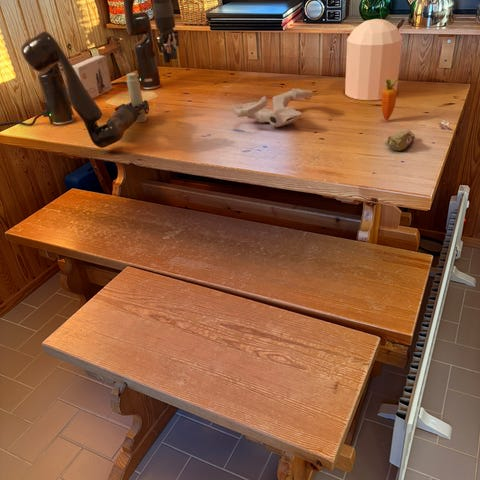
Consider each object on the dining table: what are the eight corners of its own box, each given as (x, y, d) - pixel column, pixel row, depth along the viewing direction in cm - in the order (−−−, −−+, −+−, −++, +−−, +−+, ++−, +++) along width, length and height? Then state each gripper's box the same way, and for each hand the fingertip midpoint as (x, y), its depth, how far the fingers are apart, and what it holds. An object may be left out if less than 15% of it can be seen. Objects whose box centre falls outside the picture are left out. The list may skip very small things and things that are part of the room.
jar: (132, 121, 188) (122, 75, 177) (140, 117, 191) (131, 71, 180) (140, 122, 186) (131, 76, 175) (148, 119, 189) (139, 72, 178)
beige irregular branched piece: (230, 133, 167) (227, 101, 161) (244, 110, 188) (241, 81, 182) (308, 133, 161) (308, 99, 155) (313, 109, 182) (314, 78, 176)
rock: (408, 140, 153) (379, 139, 152) (414, 122, 149) (384, 120, 148) (421, 154, 144) (391, 153, 143) (428, 135, 140) (396, 133, 139)
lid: (178, 58, 186) (177, 52, 185) (165, 60, 185) (164, 54, 184) (176, 55, 190) (175, 49, 189) (163, 57, 189) (162, 51, 188)
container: (366, 103, 181) (371, 27, 166) (334, 91, 198) (337, 19, 182) (408, 92, 188) (417, 17, 172) (374, 81, 204) (379, 11, 188)
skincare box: (87, 102, 214) (77, 67, 204) (78, 102, 215) (68, 66, 206) (113, 88, 229) (105, 54, 220) (104, 88, 231) (96, 54, 222)
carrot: (394, 118, 167) (398, 76, 158) (393, 123, 163) (397, 80, 154) (379, 117, 168) (383, 75, 160) (378, 122, 165) (382, 80, 156)
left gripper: (140, 107, 170) (155, 92, 183) (104, 108, 172) (121, 93, 186) (144, 127, 174) (158, 111, 188) (109, 127, 177) (125, 112, 190)
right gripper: (165, 11, 185) (172, 56, 195) (145, 18, 175) (154, 65, 184) (181, 11, 182) (187, 56, 192) (162, 18, 172) (170, 65, 181)
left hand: (139, 102), depth 187 cm, fingers closed on jar, 4 cm apart
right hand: (171, 60), depth 188 cm, fingers closed on lid, 5 cm apart
